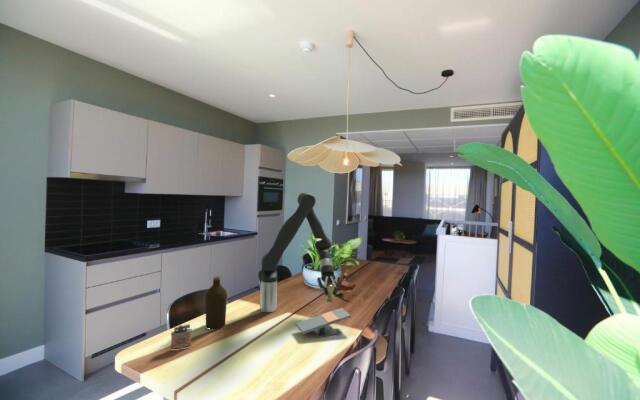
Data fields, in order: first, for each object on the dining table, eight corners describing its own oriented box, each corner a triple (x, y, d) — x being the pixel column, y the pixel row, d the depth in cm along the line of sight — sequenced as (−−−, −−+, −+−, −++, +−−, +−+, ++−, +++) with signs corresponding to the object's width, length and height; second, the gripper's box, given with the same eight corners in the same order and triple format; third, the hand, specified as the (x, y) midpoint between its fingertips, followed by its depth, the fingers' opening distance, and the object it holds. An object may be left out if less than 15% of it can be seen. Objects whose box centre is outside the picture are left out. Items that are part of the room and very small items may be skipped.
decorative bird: (368, 291, 196) (362, 272, 193) (349, 306, 187) (343, 286, 183) (342, 280, 220) (337, 263, 216) (324, 293, 210) (318, 276, 207)
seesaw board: (302, 334, 134) (302, 331, 134) (296, 325, 143) (295, 322, 143) (350, 317, 144) (350, 314, 144) (341, 309, 153) (341, 307, 153)
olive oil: (222, 330, 141) (223, 280, 141) (200, 330, 141) (202, 279, 141) (229, 321, 151) (230, 274, 151) (209, 320, 152) (210, 274, 151)
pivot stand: (318, 338, 136) (319, 328, 136) (309, 327, 147) (310, 318, 147) (337, 335, 140) (337, 325, 140) (327, 324, 151) (327, 316, 151)
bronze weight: (327, 302, 157) (328, 286, 157) (324, 299, 161) (325, 284, 161) (334, 301, 159) (335, 285, 159) (331, 299, 163) (332, 283, 163)
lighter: (170, 352, 121) (171, 328, 120) (170, 348, 124) (171, 325, 123) (191, 348, 124) (192, 325, 124) (191, 344, 127) (191, 322, 127)
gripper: (316, 264, 166) (319, 292, 154) (339, 264, 169) (344, 291, 157) (313, 271, 171) (317, 298, 159) (336, 270, 174) (341, 297, 163)
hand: (330, 294), depth 158 cm, fingers closed on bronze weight, 4 cm apart
